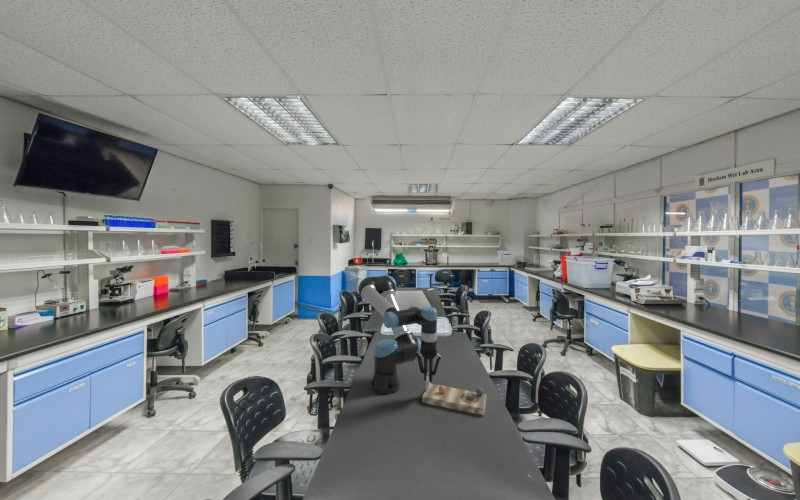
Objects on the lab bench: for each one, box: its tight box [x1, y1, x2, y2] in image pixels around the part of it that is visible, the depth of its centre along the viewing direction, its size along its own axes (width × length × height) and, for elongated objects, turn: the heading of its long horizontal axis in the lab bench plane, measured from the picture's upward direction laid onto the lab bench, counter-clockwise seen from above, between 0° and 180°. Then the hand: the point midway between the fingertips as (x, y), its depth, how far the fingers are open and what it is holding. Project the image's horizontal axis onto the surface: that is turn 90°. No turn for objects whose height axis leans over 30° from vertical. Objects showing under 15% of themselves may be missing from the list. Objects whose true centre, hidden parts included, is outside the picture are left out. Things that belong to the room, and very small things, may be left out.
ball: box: [439, 384, 446, 393], centre depth 143 cm, size 4×4×4 cm
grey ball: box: [475, 387, 484, 396], centre depth 141 cm, size 4×4×4 cm
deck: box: [421, 383, 487, 417], centre depth 141 cm, size 28×13×3 cm, turn 70°
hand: (428, 387), depth 145 cm, fingers closed
